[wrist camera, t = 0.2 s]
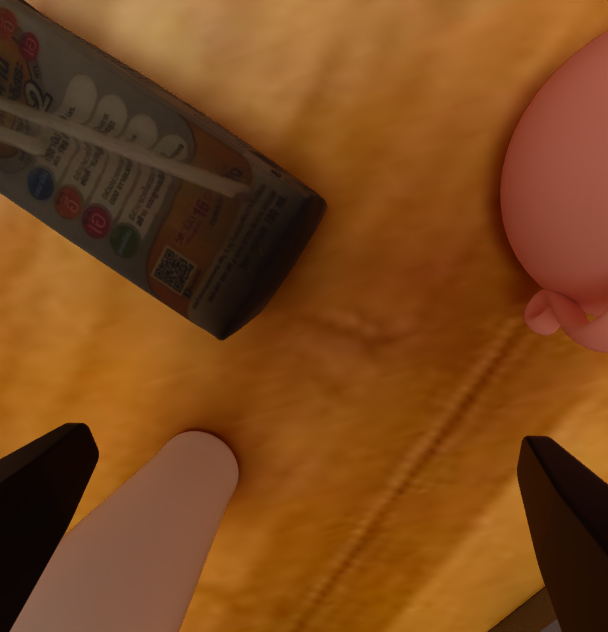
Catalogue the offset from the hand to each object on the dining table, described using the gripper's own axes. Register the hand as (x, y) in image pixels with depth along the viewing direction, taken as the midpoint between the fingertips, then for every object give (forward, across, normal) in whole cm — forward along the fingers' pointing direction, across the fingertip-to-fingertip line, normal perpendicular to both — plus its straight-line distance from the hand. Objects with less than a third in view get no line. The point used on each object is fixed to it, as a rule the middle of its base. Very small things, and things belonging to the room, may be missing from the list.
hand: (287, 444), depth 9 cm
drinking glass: (+12, +10, +14) cm, 21 cm away
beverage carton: (+17, +10, -4) cm, 20 cm away
